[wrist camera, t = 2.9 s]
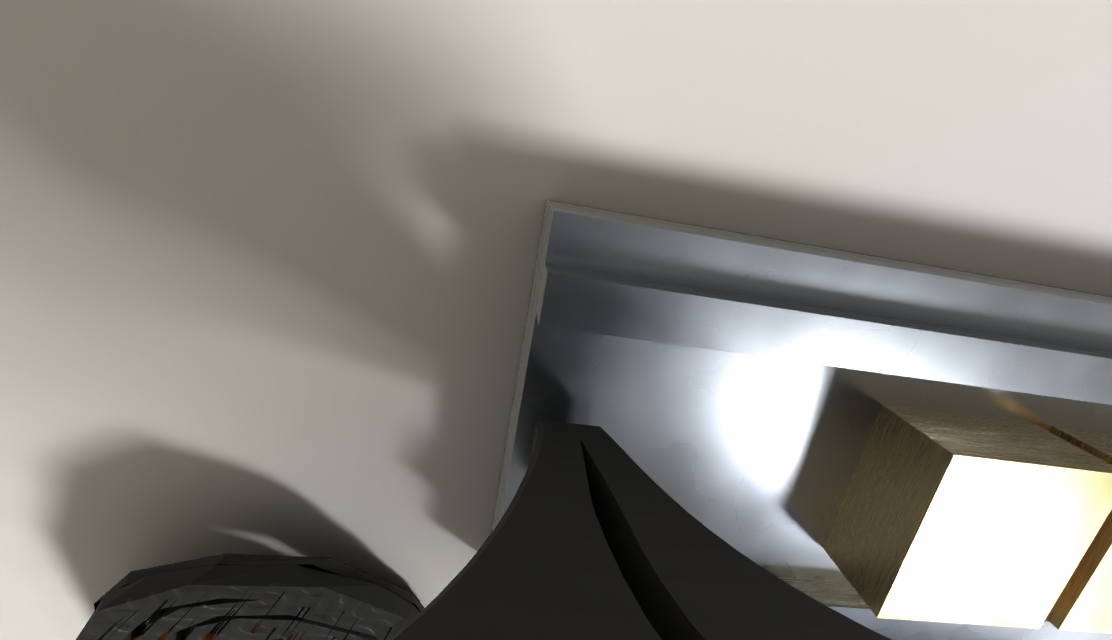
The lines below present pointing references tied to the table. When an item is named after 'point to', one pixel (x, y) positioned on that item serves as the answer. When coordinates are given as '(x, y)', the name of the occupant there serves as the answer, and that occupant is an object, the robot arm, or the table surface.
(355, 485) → the table surface
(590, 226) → the slotted bar
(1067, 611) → the brass chip
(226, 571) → the hairbrush
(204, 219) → the table surface
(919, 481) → the cream square block
